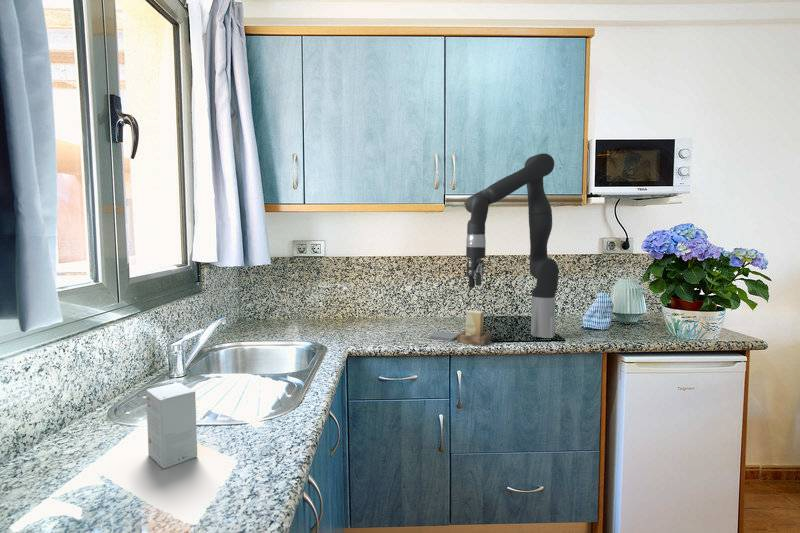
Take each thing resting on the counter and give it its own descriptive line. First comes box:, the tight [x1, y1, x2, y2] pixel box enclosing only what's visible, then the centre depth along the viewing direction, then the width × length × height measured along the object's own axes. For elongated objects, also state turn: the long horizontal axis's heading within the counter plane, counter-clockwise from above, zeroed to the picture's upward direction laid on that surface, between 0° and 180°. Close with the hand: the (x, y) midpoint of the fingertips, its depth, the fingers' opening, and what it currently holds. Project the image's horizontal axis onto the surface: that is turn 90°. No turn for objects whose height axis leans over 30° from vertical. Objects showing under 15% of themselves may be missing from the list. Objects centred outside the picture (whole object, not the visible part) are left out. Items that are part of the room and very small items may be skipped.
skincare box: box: [465, 309, 485, 337], centre depth 175 cm, size 6×4×12 cm
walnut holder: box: [456, 329, 492, 347], centre depth 175 cm, size 11×11×3 cm
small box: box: [145, 382, 198, 470], centre depth 84 cm, size 8×6×13 cm
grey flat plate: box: [428, 330, 460, 342], centre depth 182 cm, size 10×10×1 cm
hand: (475, 286), depth 173 cm, fingers open, 8 cm apart
